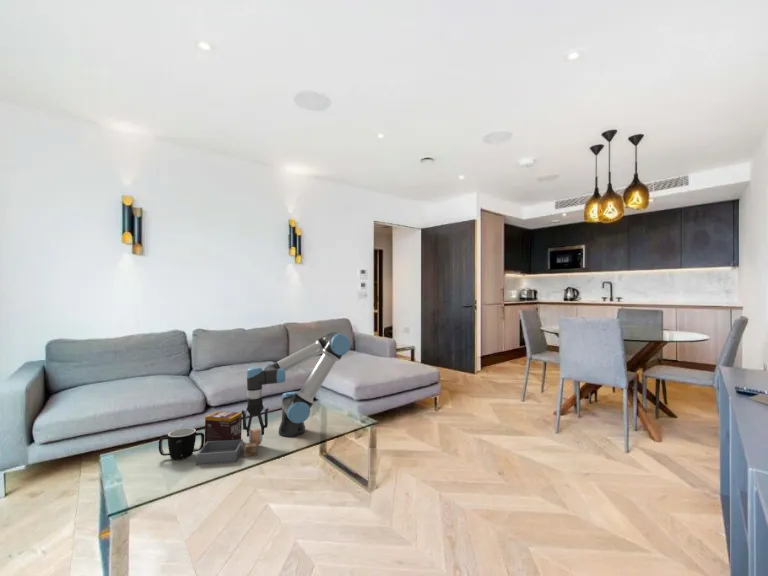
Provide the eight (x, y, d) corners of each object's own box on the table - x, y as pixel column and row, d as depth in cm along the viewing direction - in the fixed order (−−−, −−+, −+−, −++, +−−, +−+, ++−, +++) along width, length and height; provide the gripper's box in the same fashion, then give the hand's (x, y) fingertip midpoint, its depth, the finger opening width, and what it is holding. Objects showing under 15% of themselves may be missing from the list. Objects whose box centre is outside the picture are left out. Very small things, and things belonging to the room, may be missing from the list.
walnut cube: (256, 452, 183) (257, 442, 183) (255, 456, 178) (255, 446, 178) (246, 453, 182) (246, 443, 182) (244, 457, 177) (244, 447, 177)
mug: (188, 447, 188) (188, 424, 189) (207, 454, 180) (207, 429, 181) (155, 459, 174) (156, 434, 175) (174, 467, 166) (174, 440, 166)
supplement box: (230, 448, 187) (230, 418, 187) (204, 446, 190) (204, 416, 190) (241, 441, 197) (242, 412, 197) (216, 439, 200) (217, 410, 200)
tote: (242, 449, 186) (242, 439, 186) (236, 462, 171) (236, 451, 171) (206, 451, 183) (206, 441, 183) (196, 465, 168) (196, 454, 168)
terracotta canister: (261, 441, 192) (260, 428, 192) (260, 445, 187) (260, 431, 188) (251, 442, 191) (250, 429, 191) (250, 446, 186) (250, 432, 186)
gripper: (273, 394, 195) (274, 437, 195) (238, 396, 192) (239, 440, 191) (271, 397, 188) (272, 442, 187) (235, 400, 185) (236, 446, 184)
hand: (255, 441), depth 189 cm, fingers closed on terracotta canister, 5 cm apart
